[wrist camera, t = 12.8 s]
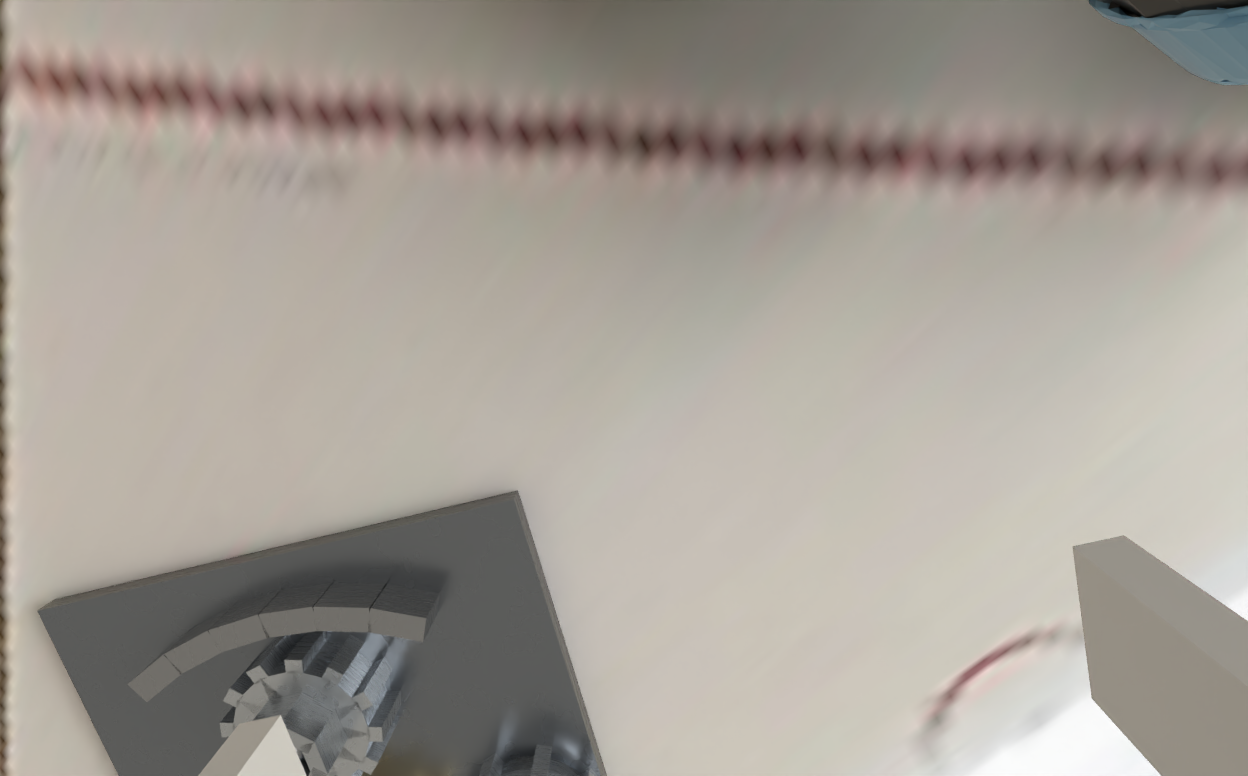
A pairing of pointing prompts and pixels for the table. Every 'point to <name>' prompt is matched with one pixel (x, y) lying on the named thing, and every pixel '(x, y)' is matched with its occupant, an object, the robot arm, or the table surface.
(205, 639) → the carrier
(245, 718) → the gear
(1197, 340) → the table surface
